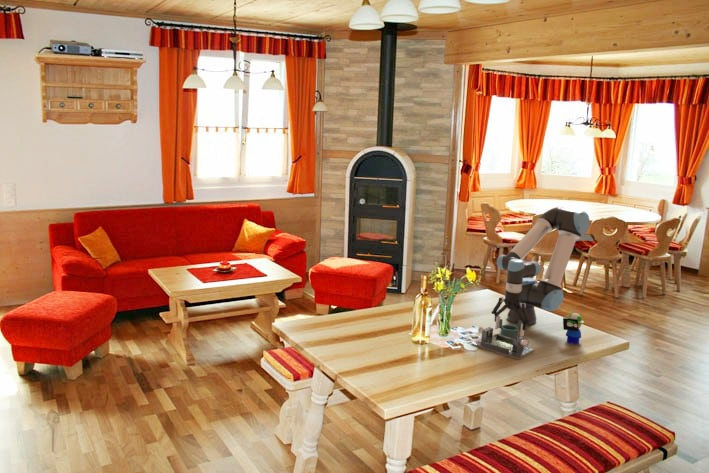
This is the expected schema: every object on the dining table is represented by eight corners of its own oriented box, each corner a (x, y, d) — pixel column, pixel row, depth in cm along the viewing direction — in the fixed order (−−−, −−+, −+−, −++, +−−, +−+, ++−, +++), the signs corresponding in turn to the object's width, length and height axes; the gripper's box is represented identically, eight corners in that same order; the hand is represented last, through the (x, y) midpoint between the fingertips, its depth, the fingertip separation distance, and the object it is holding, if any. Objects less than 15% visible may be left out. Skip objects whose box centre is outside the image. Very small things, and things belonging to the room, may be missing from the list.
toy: (559, 342, 304) (562, 313, 301) (567, 337, 311) (570, 309, 308) (576, 347, 298) (580, 317, 295) (584, 342, 305) (588, 313, 302)
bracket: (521, 338, 307) (523, 321, 305) (508, 341, 302) (509, 323, 300) (508, 332, 314) (510, 316, 313) (495, 335, 310) (496, 318, 308)
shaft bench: (486, 336, 307) (488, 323, 306) (533, 351, 291) (535, 337, 289) (470, 344, 296) (471, 330, 295) (518, 359, 280) (519, 345, 278)
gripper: (487, 286, 309) (483, 327, 313) (533, 298, 293) (528, 340, 297) (494, 284, 314) (491, 323, 319) (540, 295, 298) (536, 337, 302)
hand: (509, 332), depth 308 cm, fingers open, 13 cm apart
